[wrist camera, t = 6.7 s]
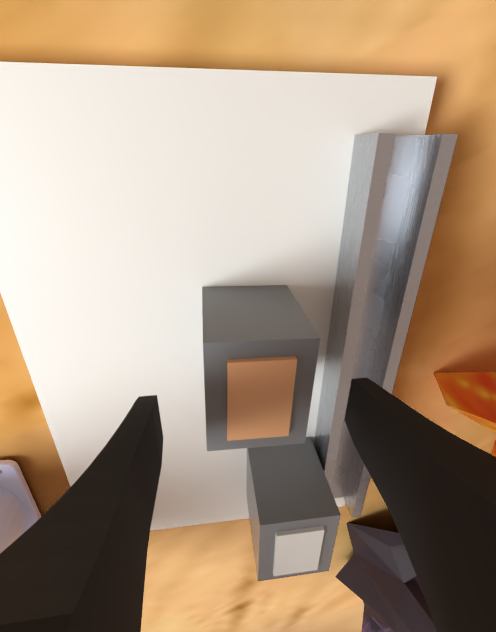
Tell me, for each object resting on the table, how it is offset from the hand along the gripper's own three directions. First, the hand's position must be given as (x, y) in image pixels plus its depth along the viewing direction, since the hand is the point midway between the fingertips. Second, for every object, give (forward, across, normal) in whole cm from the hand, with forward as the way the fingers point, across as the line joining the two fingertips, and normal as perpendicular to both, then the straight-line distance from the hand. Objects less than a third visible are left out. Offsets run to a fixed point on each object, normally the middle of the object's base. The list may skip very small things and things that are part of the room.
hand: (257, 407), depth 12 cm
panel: (+6, +1, +2) cm, 7 cm away
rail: (+5, -6, +2) cm, 8 cm away
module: (+5, 0, 0) cm, 5 cm away
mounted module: (+5, -2, +10) cm, 11 cm away
